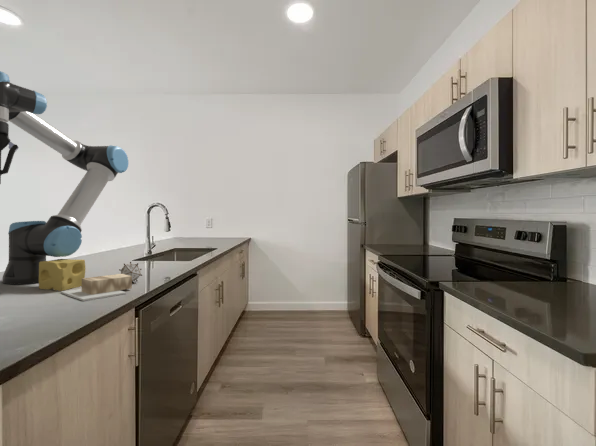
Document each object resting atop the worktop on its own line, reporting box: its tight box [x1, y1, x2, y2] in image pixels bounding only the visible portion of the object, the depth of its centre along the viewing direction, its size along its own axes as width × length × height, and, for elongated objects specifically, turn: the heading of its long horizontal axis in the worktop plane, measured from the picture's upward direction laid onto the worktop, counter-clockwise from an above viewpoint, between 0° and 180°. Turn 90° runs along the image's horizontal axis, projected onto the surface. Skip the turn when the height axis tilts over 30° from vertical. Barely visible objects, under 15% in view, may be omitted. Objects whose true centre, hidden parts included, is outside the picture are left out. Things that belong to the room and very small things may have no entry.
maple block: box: [81, 273, 133, 295], centre depth 126 cm, size 4×7×14 cm
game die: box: [118, 261, 143, 282], centre depth 143 cm, size 9×8×10 cm
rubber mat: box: [60, 288, 127, 302], centre depth 123 cm, size 14×16×1 cm
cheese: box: [38, 258, 86, 292], centre depth 131 cm, size 10×11×10 cm
